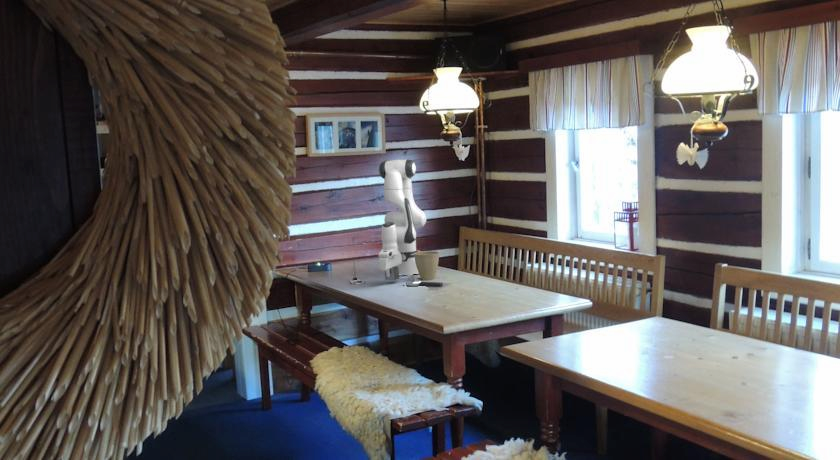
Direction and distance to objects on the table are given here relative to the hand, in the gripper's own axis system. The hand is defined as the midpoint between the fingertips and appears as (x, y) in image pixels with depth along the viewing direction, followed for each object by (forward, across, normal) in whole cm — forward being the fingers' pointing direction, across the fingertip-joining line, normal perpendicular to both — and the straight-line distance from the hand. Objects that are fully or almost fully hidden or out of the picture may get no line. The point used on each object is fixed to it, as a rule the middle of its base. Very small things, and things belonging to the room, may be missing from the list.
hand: (391, 275), depth 450 cm
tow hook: (+6, +1, -23) cm, 23 cm away
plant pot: (+6, -15, +15) cm, 22 cm away
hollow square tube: (+2, 0, 0) cm, 2 cm away
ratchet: (+4, +5, +23) cm, 23 cm away
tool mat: (+5, +5, +22) cm, 23 cm away
